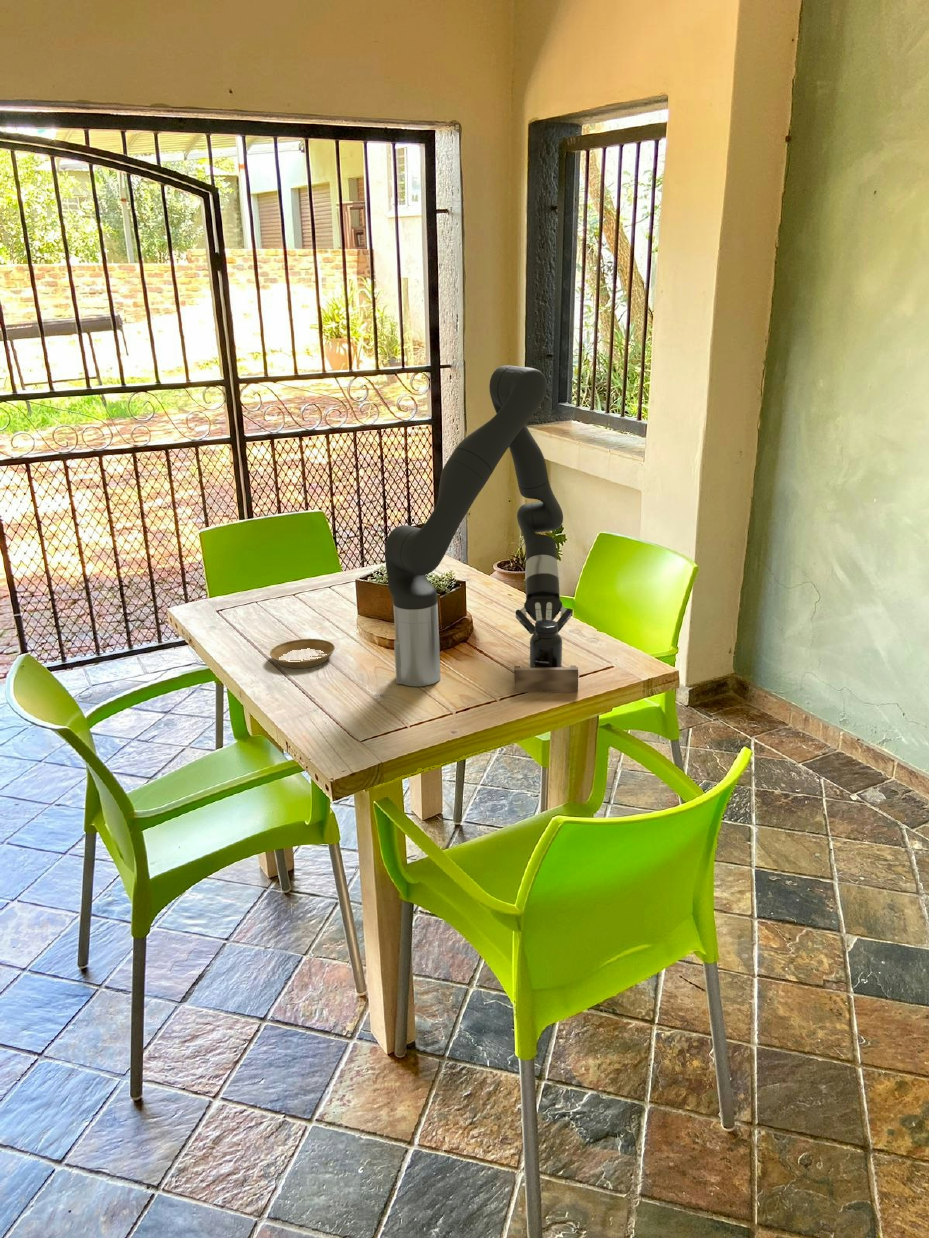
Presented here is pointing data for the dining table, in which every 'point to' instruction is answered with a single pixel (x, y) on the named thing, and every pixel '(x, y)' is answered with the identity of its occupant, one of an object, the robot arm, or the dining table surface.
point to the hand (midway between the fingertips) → (544, 650)
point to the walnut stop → (546, 679)
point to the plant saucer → (298, 645)
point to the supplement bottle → (546, 645)
